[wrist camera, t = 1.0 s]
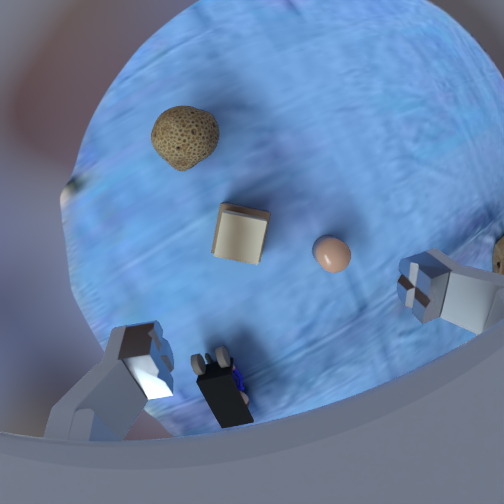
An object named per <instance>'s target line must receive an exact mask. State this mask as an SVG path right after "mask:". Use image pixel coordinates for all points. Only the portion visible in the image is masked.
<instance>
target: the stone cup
mask: <svg viewBox="0 0 504 504" xmlns="http://www.w3.org/2000/svg"><path fill="white" fill-rule="evenodd" d="M493 272H494V273H497V274H501V275H504V236H503V237H502V238H501V239H500V240H499V241H498V242H497V243H496V244H495V247H494V252H493Z"/></svg>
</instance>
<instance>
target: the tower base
mask: <svg viewBox="0 0 504 504" xmlns="http://www.w3.org/2000/svg"><path fill="white" fill-rule="evenodd" d="M224 210H229V211H234V212H239V213H244V214H249V215H254V216H259V217H264V218H265V219H266V221H267V224H266V229H265V233H264V238H263V243H262V247H261V252H260V256H259V261H258V262H260V261H261V256H262V251H263V247H264V242H265V238H266V233H267V228H268V224H269V219H270V214H271V213H269V212H268V211H265V210H260V209H255V208H250V207H245V206H240V205H235V204H230V203H225V202H222V203H220V208H219V214H218V219H217V224H216V229H215V235H214V240H213V246H212V251H211V253H215V248H216V242H217V237H218V232H219V226H220V221H221V216H222V212H223V211H224Z"/></svg>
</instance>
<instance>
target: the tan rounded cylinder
mask: <svg viewBox="0 0 504 504" xmlns="http://www.w3.org/2000/svg"><path fill="white" fill-rule="evenodd" d="M312 253H313V256H314V258H315V260H316V261H317V262H318V263H319V264H320V265H321V266H322V267H323V268H324V269H325V270H327V271H329V272H332V273H337V272H340V271H342V270H344V269H345V268H346V267H347V266H348V264H349V262H350V259H351V252H350V249H349V247H348V246H347V245H346V244H345V243H344V242H342V241H340V240H339V239H337V238H335V237H333V236H330V235H324V236H321V237H320V238H318V239H317V240H316V241H315V243H314V245H313V248H312Z"/></svg>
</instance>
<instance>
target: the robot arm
mask: <svg viewBox="0 0 504 504" xmlns="http://www.w3.org/2000/svg"><path fill="white" fill-rule="evenodd" d="M399 272H400V273H401V276H400V278H399V279H398V281H397V292H398V297H399V298H400V300H401V302H402V303H403V304H404V305H405V306H407V307H410V308H412V314H413V315H414V316H415V317H416V318H417V319H418V320H419V321H420V322H421V323H422V324H423V323H426V322H428V321H431V320H433V319H435V318H438V317H440V316H441V317H440V318H443V319H445V320H447V321H449V322H451V323H453V324H456V325H458V326H460V327H462V328H464V329H466V330H469V331H471V332H473V333H475V334H477V336H475V337H474V338H472V339H471V340H469V341H467V342H466V343H464V344H462V345H460V346H459V347H457V348H455V349H453V350H452V351H450V352H448V353H446V354H444V355H442V356H441V357H439V358H437V359H435V360H433V361H431V362H429V363H427V364H425V365H423V366H421V367H419V368H417V369H415V370H413V371H411V372H409V373H407V374H404V375H402V376H400V377H398V378H396V379H393V380H391V381H389V382H386V383H384V384H382V385H379V386H377V387H374V388H372V389H369V390H367V391H364V392H362V393H359V394H356V395H354V396H351V397H348V398H346V399H343V400H340V401H337V402H334V403H331V404H328V405H325V406H322V407H319V408H316V409H312V410H309V411H306V412H302V413H299V414H295V415H292V416H288V417H284V418H280V419H276V420H272V421H268V422H264V423H260V424H255V425H251V426H246V427H241V428H236V429H230V430H225V431H219V432H213V433H207V434H200V435H192V436H184V437H175V438H165V439H154V440H137V441H123V439H124V437H125V436H126V434H127V433H128V431H129V430H130V428H131V427H132V425H133V423H134V422H135V420H136V419H137V417H138V416H139V414H140V413H141V411H142V409H143V408H144V406H145V405H146V403H147V402H148V399H152V398H159V397H165V396H171V395H173V377H172V375H171V374H170V373H171V371H172V370H173V369H174V359H173V353H172V350H171V347H170V345H169V342H168V341H167V340H166V339H164V338H163V337H162V336H163V329H162V327H161V325H160V323H159V322H158V321H157V320H155V321H149V322H143V323H137V324H131V325H125V326H120V327H115V328H113V329H112V331H111V334H110V337H109V340H108V343H107V347H106V350H105V353H104V357H103V360H102V362H99V363H97V364H96V365H95V366H94V367H93V368H92V369H91V370H90V371H89V372H88V373H87V374H86V375H85V376H84V377H83V378H82V379H81V380H80V381H79V382H78V383H77V384H76V385H75V386H74V387H73V388H71V389H70V391H69V392H67V393H66V394H65V395H64V396H63V398H61V399H60V401H58V402H57V403H56V404H55V405H54V406H53V407H52V410H51V413H50V416H49V420H48V423H47V426H46V430H45V433H44V437H43V438H39V437H31V436H24V435H17V434H11V433H6V432H1V431H0V504H504V275H501V274H497V273H493V272H489V271H485V270H481V269H477V268H473V267H469V266H464V267H462V266H461V265H460V264H458V263H457V262H455V261H454V260H453V259H451V258H450V257H448V256H447V255H445V254H444V253H442V252H441V251H439V250H438V249H436V248H432V249H429V250H426V251H424V252H422V253H419V254H416V255H413V256H410V257H407V258H403V259H401V261H400V263H399Z"/></svg>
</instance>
